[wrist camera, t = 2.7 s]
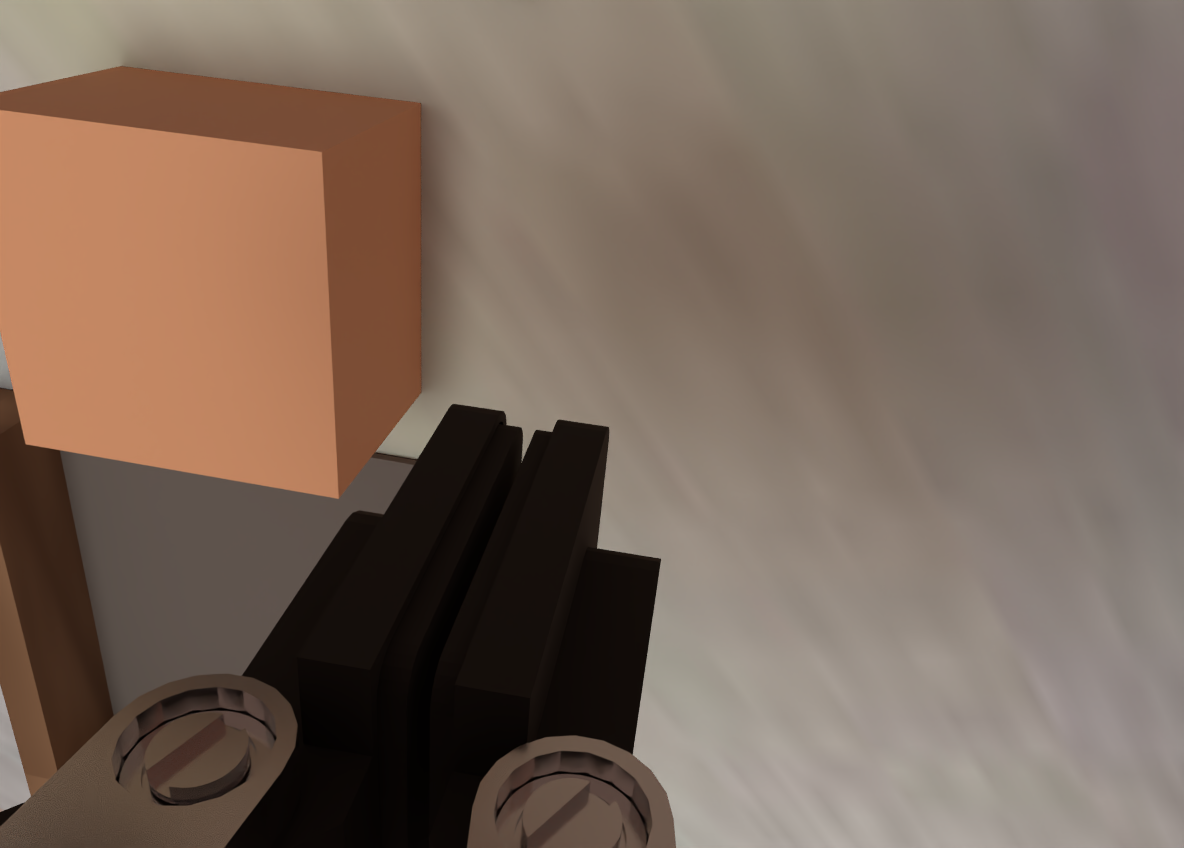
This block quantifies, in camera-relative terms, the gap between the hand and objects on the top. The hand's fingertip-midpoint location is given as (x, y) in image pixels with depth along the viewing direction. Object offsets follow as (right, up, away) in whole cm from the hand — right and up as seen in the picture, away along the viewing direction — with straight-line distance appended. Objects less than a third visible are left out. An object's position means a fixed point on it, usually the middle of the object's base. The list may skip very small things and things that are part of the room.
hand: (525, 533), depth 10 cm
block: (-6, +5, +9) cm, 12 cm away
